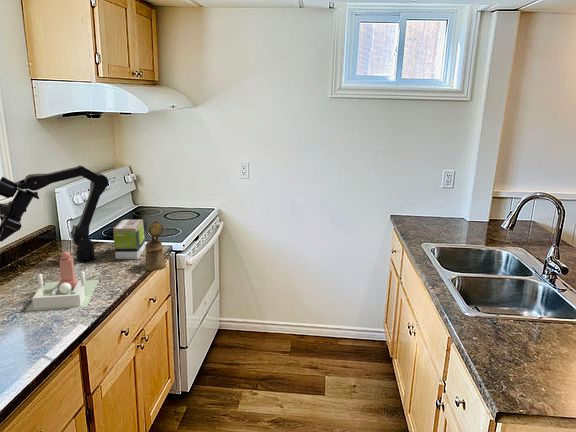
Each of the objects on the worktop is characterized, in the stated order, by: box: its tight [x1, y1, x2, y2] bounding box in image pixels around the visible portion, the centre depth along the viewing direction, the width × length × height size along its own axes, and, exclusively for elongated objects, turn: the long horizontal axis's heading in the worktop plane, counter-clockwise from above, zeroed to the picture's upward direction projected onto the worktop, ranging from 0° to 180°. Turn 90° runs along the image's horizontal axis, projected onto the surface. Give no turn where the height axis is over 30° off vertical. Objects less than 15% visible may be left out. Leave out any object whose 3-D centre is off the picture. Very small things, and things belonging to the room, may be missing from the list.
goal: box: [31, 271, 87, 309], centre depth 152 cm, size 9×15×9 cm, turn 103°
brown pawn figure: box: [144, 221, 167, 272], centre depth 187 cm, size 9×14×18 cm, turn 8°
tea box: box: [112, 219, 146, 260], centre depth 200 cm, size 15×10×15 cm, turn 5°
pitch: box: [25, 279, 100, 312], centre depth 159 cm, size 24×19×2 cm
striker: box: [58, 250, 78, 289], centre depth 162 cm, size 4×5×14 cm
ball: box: [59, 283, 71, 294], centre depth 159 cm, size 4×4×4 cm
